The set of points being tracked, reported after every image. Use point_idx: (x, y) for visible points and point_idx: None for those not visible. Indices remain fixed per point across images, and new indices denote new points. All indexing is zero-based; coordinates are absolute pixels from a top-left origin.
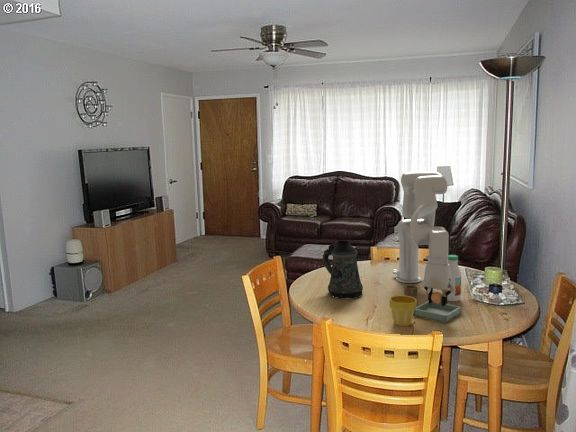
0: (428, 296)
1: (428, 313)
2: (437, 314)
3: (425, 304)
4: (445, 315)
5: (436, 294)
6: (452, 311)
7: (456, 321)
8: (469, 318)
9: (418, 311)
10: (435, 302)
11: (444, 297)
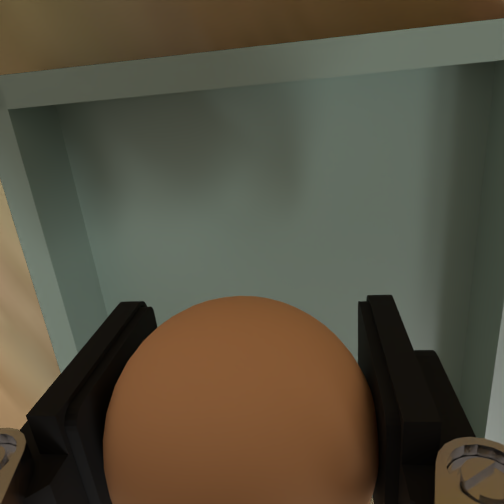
0: (445, 399)
1: (258, 48)
2: (100, 67)
3: (489, 363)
4: (3, 118)
5: (185, 438)
6: (59, 320)
7: (14, 225)
8: (4, 370)
9: (454, 25)
10: (233, 296)
11: (42, 436)
